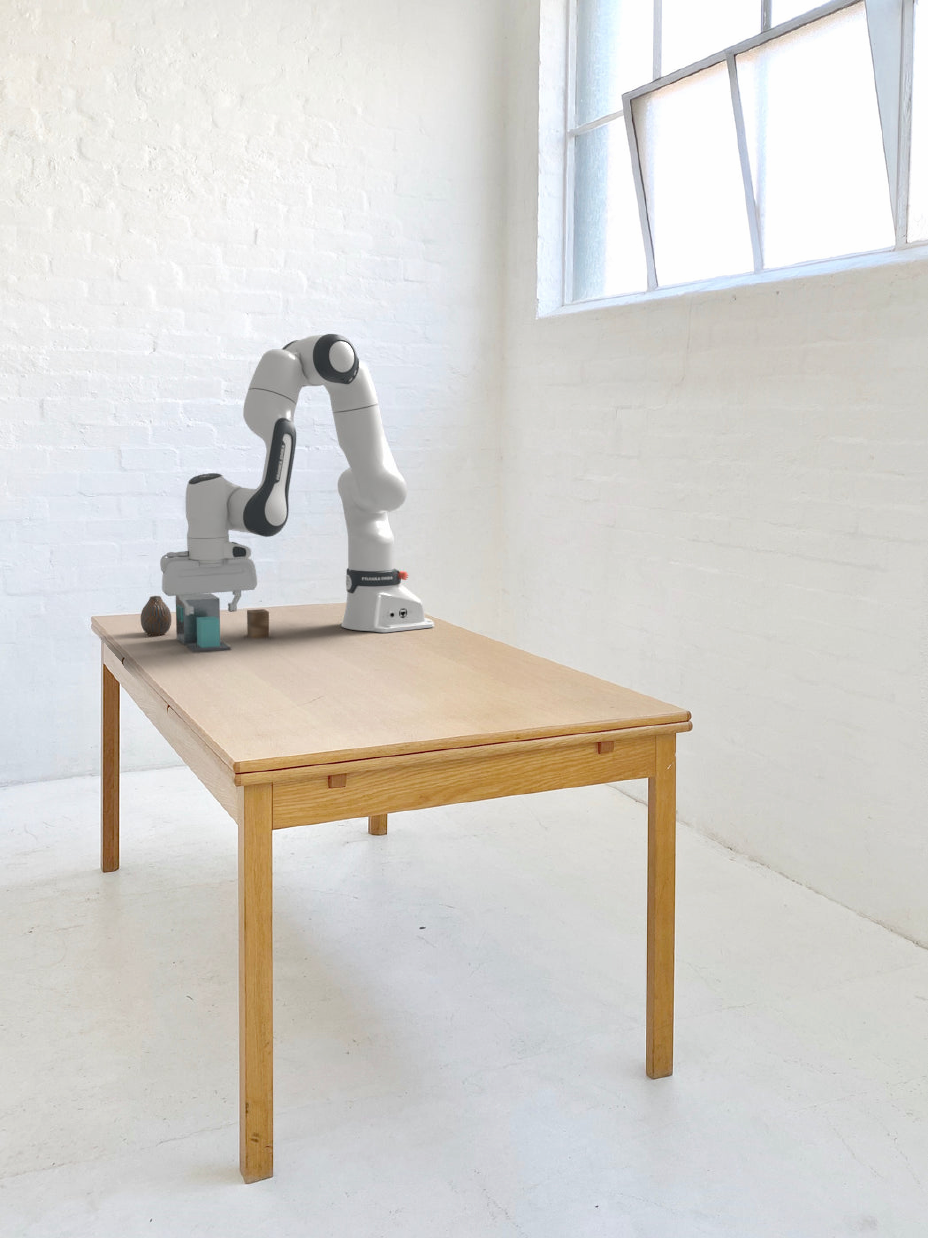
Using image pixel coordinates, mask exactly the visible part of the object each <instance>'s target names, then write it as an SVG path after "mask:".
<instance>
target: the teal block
mask: <svg viewBox="0 0 928 1238" xmlns="http://www.w3.org/2000/svg"><path fill="white" fill-rule="evenodd" d="M220 642H221V625H220V626H219V619H218V618H217V617H215V616H214V617H197V645H199V646H200V647H201V648H205V647H220Z"/></svg>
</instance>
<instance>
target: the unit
mask: <svg viewBox="0 0 928 1238" xmlns="http://www.w3.org/2000/svg"><path fill="white" fill-rule="evenodd" d="M220 599H221V598H219V597H218V596H216V595H214V594H213V593H204V594H191V595H188V600H186V602H187V604H188V605H189V606H192V607H194V611H193V612H194V615H186V614H185V606H184V605H183V604H182V602H181V601H180V599H179V595H178V596H175V622H176V623H175V624H176V625H175V626H176V627H175V630H176V634H175V635H176V639H177V641H178V642H180V643H181V644H183V646H185V645H186V644H192V643H197V617H214V616H215V617H217V618H218V619H219V626H220V627H221V620H220V619H221V614H220V613H221V609H220V607H221V606H220V605H221V604H220V603H221V602H220ZM186 646H187V645H186Z"/></svg>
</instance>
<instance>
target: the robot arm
mask: <svg viewBox="0 0 928 1238" xmlns="http://www.w3.org/2000/svg"><path fill="white" fill-rule="evenodd" d="M320 386H323V387H324V388H325V389H326V391H327V392H328V395H329V400H330V406H331V412H332V415H333V421H334V428H335V431H336V437H337V441H338V445H339V447H340V449H341V450H342V452H343V454H344V456H345V458H346V460H347V463H348V465H349V467H348V468H347V469H344V471H342V473H341V474H340V475H339V477H338V480H337V492H338V495H339V497H340V498H341V503H342V508H343V514H344V519H345V521H344V522H345V525H346V531H347V532H346V533H347V543H348V544H347V546H348V547H347V550H348V551H347V553H348V554H347V562H348V563H347V564H348V568H346V575H345V588H346V593H347V595H346V604H345V609H344V614H343V617H342V618H343V619H342V621H341V625H340V626H341V627H342V628H344V629H348V630H354V631H363V632H365V631H366V632H375V633H393V632H400V631H401V632H402V631H409V630H419V629H427V628H428V629H429V628H434V627H435V623H434V621H433V620H432V619H430V618H427V617H426V614H425V607H424V604H423V602H422V600H421V598H419V597H418V596H417V595H416V594H414V593H413V592H412V591H410V590H409V589H408V588H407V587H406V586H404V585H403V584H402V583H401V582H402V580H403V581H406V580H408V578H409V573H408V572H407V571H404V570H398V569H396V568H395V536H394V533H393V531H392V528H391V525H390V521H389V517H388V513H390V512H391V513H392V512H393V511H396V510H398V509H399V508H400V507H401V506H402V505H403V504H404V503H405V500H406V499H407V496H408V484H407V482H406V480H405V479H404V476H402V474H401V472H400V471H399V469H398V467H397V464H396V460H395V459H394V456H393V454H392V451H391V449H390V446H389V443H388V440H387V438H386V434H385V433H386V432H385V429H384V424H383V419H382V415H381V410H380V403H379V399H378V398H379V397H378V395H377V391H376V387H375V384H374V381H373V378H372V375H371V373H370V371H369V368H368V367H367V365H366V364H365V363H364V362H363V361H360V359H359V357H358V354H357V351H356V349H355V347H354V345H353V344H352V342H351V341H350V340H349V339H348V338H347V337H345V336H343V335H341V334H336V333H327V334H316V335H310V336H307V337H305V338H301V339H297V340H293V341H290V342H288V343H287V344H286V345H284V346H283V347H282V348H280V349H279V348H273V349H270V350H267V351H266V352H265V353H264V354H263V355H262V356H261V359H260V361H259V362H258V364H257V366H256V368H255V370H254V373H253V375H252V378H251V380H250V383H249V386H248V389H247V393H246V396H245V399H244V403H243V414H242V415H243V416H242V417H243V419H244V421H245V424H246V425H247V427H248V428H249V430H250V431H252V433H254V434H255V435H256V436H258V437H259V438H260V439H262V441H263V442H264V444H265V449H266V451H265V452H266V453H265V454H266V455H265V459H264V465H263V469H262V470H263V471H262V477H261V481H260V484H259V486H257V487H256V488H249V487H242V486H240V485H238V484H237V485H236V484H235V483H233V482H232V481H231V482H230V481H229V480H227V478H225V477H224V475H222V474H221V473H217V472H216V473H214V472H213V473H210V472H209V473H203V474H199V475H196V476H193V477H192V478H190V479H189V480H188V482H187V485H186V487H185V488H186V489H185V518H186V521H187V526H188V528H187V533H186V544H187V545H186V546H187V547H186V548H187V550H184V551H183V550H182V551H177V552H174V551H169V552H167V553H166V554H164V555H163V556H162V557H161V558H160V561H159V562H160V563H159V564H160V570H161V572H162V579H161V590H162V593H163V594H165V595H166V596H168V597H176V596H178V595H179V599H180V601H181V602H182V604H183V605H184V606H185V614H186V615H194V612H193V611H194V607H192V606H189V605H188V604H187V602H186V600H188V595H191V594H209V593H211V594H213V593H214V594H215V593H227V592H232V595H233V598H232V601H231V602H228V603H227V607H228V609H227V610H228V612H230V613H233V612H234V613H235V612H237V611H238V607H237V606H238V605H237V604H238V602H239V601H240V599H241V597H242V592H244V591H254V590H255V589H256V587H257V586H258V575H257V569H256V564H255V563H254V560H253V559H252V558H250V557H251V556H252V549H251V547H249V546H247V545H244V544H240V543H237V542H235V541H230V535H229V532H230V531H232V532H233V531H234V532H241V533H246V534H249V533H250V534H254V535H256V536H261V537H265V538H267V537H268V538H270V537H274V536H276V535H278V534H279V533H280V532H281V531H282V530H283V528H284V527H285V525H286V523H287V521H288V519H289V511H290V509H289V506H290V505H289V493H290V492H289V491H290V484H291V479H292V474H293V473H292V472H293V471H292V470H293V466H294V460H295V454H296V447H297V446H296V445H297V430H296V426H295V425H294V418H295V411H296V407H297V403H298V400H299V396H300V393H301V390H302V388H305V387H320Z"/></svg>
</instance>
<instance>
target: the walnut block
mask: <svg viewBox="0 0 928 1238" xmlns="http://www.w3.org/2000/svg"><path fill="white" fill-rule="evenodd" d="M246 625H247V626H246V627H247V628H246V629H247V631H246V632H247V633H246V635H247V637H249V638H251V640H252V639H253V640H254V639H265V638H266V639H267V638H270V612H269V610H266V609H264V608H262V609H261V608H260V609H259V608H258V609H246Z"/></svg>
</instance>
